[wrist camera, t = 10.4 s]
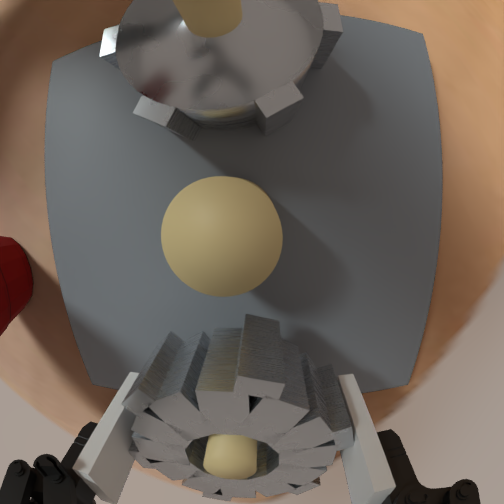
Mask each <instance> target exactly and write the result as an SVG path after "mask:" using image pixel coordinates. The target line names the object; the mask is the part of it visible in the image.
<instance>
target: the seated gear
mask: <svg viewBox="0 0 504 504" xmlns="http://www.w3.org/2000/svg"><path fill="white" fill-rule="evenodd" d="M241 6H242V13H243V15H242V20H241V22H240V24H239V25H238V26H237V27H236V28H235V29H234V30H232V31H231V32H229V33H227V34H225V35H222V36H219V37H212V38H206V37H200V36H197V35H195V34H193V33H192V32H190V31H189V29H188V28H187V26H186V24H185V22H184V20H183V19H182V17H181V15H180V13H179V11H178V9H177V8H176V6H175V4H174V2H173V0H133V2H132V3H131V4H130V6H129V7H128V8H127V10H126V12H125V14H124V16H123V17H122V19H121V22H120V25H116V26H113V27H110V28H107V29H104V33H103V38H102V45H101V51H100V57H101V58H102V59H104V60H105V61H107V62H108V63H110V64H111V65H113V66H114V67H116V68H117V69H119V70H120V71H121V72H122V74H123V76H124V77H125V78H126V80H127V81H128V82H129V84H130V85H131V86H132V87H134V88H135V89H136V90H137V91H138V92H140V93H141V94H143V95H142V96H141V98H140V100H139V102H138V104H137V106H136V108H135V109H134V111H133V113H134V114H136V115H138V116H140V117H142V118H145V119H147V120H149V121H151V122H153V123H155V124H157V125H159V126H161V127H163V128H165V129H167V130H170V131H172V132H174V133H176V134H179V135H181V136H183V137H185V138H188V139H190V140H192V141H194V140H195V139H196V137H197V135H198V133H199V131H200V129H201V128H205V129H211V130H233V129H241V128H245V127H249V126H252V125H255V124H257V126H258V127H259V129H260V130H261V132H262V133H263V135H264V136H265V137H266V136H268V135H269V134H271V133H273V132H274V131H276V130H278V129H280V128H281V127H283V126H285V125H287V124H289V123H290V122H292V120H293V118H294V116H295V114H296V112H297V110H298V108H299V106H300V105H301V103H302V101H303V99H304V97H303V95H302V94H301V93H300V91H299V90H300V88H301V86H302V84H303V82H304V79H305V77H306V75H307V73H308V70H309V69H322V68H323V66H324V64H325V63H326V61H327V59H328V57H329V56H330V54H331V52H332V50H333V49H334V47H335V45H336V43H337V42H338V40H339V38H340V37H341V35H342V33H343V28H342V23H341V18H340V13H339V9H338V4H330V3H321V2H319V3H318V0H241Z"/></svg>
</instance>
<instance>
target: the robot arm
mask: <svg viewBox="0 0 504 504" xmlns="http://www.w3.org/2000/svg"><path fill="white" fill-rule="evenodd" d="M138 375H139V373H135V372H130V373H129V375H128V376H127V378H126V379H125V381H124V383H123V384H122V386H121V387H120V389H119V391H118V392H117V394H116V395H115V397H114V399H113V400H112V402H111V403H110V405H109V407H108V408H107V410H106V412H105V413H104V415H103V416H102V418H101V420H100V421H99V423H98V424H97V423H94V422H89V423H88V424H87V425H85V426H84V427H83V428H82V429H81V431H80V433H79V434H78V437H76V439H75V441H74V443H73V444H72V445H71V447H70V449H69V450H68V452H67V454H66V455H65V457H64V458H63V460H62V462H61V463H60V462H59V461H58V460H57V458H56V457H54V456H53V455H50V454H44V455H41V456H39V457H37V458H36V460H35V461H34V464H33V466H34V467H35V468H31V467H30V466H29V465H28V464H27V462H25V461H23V460H14V461H13V462H12V463H11V464H10V465H9V467H8V469H7V472H6V475H5V478H4V480H3V483H2V487H1V489H0V504H96V502H95V500H94V497H95V495H97V496H98V497H99V498H100V499H101V500H103V501H106V502H109V503H112V504H117V502H118V500H119V497H120V495H121V492H122V490H123V487H124V485H125V482H126V480H127V477H128V475H129V472H130V470H131V468H132V465H133V463H134V460H135V459H134V457H133V456H132V455H131V454H130V453H129V452H128V450H129V448H130V446H131V444H132V441H133V438H132V435H133V433H134V431H132V430H131V428H132V426H133V423H134V421H135V418H136V415H135V414H133V413H132V412H130V411H129V410H128V409H126V408H125V407H124V406H122V405H121V403H122V402H123V400H124V398H125V397H126V395H127V393H128V392H129V390H130V388H131V386H132V385H133V383H134V381H135V380H136V378H137V376H138ZM337 381H338V385H339V388H340V391H341V394H342V397H343V400H344V403H345V406H346V409H347V413H348V416H349V419H350V422H351V426H352V432H353V441H354V446H352V447H349V448H346V449H342V450H340V453H341V457H342V461H343V466H344V470H345V474H346V479H347V484H348V489H349V492H350V498H351V503H352V504H480V499H479V492H478V488H477V486H476V484H475V483H474V482H473V481H472V480H468V479H463V480H460V481H458V482H456V483H455V484H454V485H453V486H452V487H446V488H437V489H430V488H426V487H424V486H423V485H421V484H420V483H419V482H418V480H417V478H416V475H415V473H414V470H413V468H412V465H411V463H410V461H409V458H408V456H407V455H406V451H405V449H404V447H403V445H402V442H401V440H400V437H399V436H398V435H397V434H396V433H395V432H394V431H393V430H391V429H390V430H386V431H381V432H376V430H375V427H374V424H373V422H372V419H371V417H370V414H369V412H368V409H367V406H366V404H365V401H364V399H363V396H362V394H361V392H360V389H359V387H358V384H357V382H356V379H355V377H354V375H353V374H347V375H338V379H337ZM30 497H32V498H31V500H30Z"/></svg>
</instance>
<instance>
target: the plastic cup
mask: <svg viewBox="0 0 504 504" xmlns="http://www.w3.org/2000/svg"><path fill="white" fill-rule="evenodd" d="M32 290H33V280H32V273H31V268H30V266H29V263H28V260H27V257H26V255H25V253H24V252H23V250H22V248H21V247H20V245H19V244H18V243H17V242H16V241H15V240H13V239H12V238H10V237H2V236H0V336H1V335H2V333H3V332H4V331H5V330H6V329H7V327H8V324H9V323H10V322H11V321H12V320H13V319H14V318H15V317H16V316H17V315H18V314H19V313H20V312H21V311H22V310H23V309H24V308H25V306H26V304H27V303H28V301H29V300H30V298H31V296H32Z"/></svg>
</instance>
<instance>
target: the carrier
mask: <svg viewBox="0 0 504 504" xmlns="http://www.w3.org/2000/svg"><path fill="white" fill-rule="evenodd" d="M173 2H174V4H175V6H176V8H177V9H178V11H179V13H180V15H181V17H182V19H183V20H184V22H185V24H186V26H187V28H188V29H189V31H190V32H192V33H193V34H195V35H197V36H200V37H206V38H212V37H219V36H222V35H225V34H227V33H229V32H231V31H232V30H234V29H235V28H236V27H237V26H238V25H239V24H240V22H241V20H242V15H243V13H242V6H241V0H173ZM340 18H341V23H342V28H343V33H342V35H341V37H340V38H339V40H338V42H337V43H336V45H335V47H334V49H333V50H332V52H331V54H330V56H329V57H328V59H327V61H326V63H325V64H324V66H323V68H322V69H309V70H308V73H307V75H306V77H305V79H304V82H303V84H302V86H301V88H300V90H299V91H300V93H301V94H302V95H303V97H304V99H303V101H302V103H301V105H300V106H299V108H298V110H297V112H296V114H295V116H294V118H293V120H292V122H290V123H289V124H287V125H285V126H283V127H281V128H280V129H278V130H276V131H274V132H273V133H271V134H269V135H268V136H266V137H265V136H264V135H263V133H262V132H261V130H260V129H259V127H258V126H257V124H255V125H252V126H249V127H245V128H241V129H233V130H211V129H205V128H201V129H200V131H199V133H198V135H197V137H196V139H195V140H194V141H192V140H190V139H188V138H185V137H183V136H181V135H179V134H176V133H174V132H172V131H170V130H167V129H165V128H163V127H161V126H159V125H157V124H155V123H153V122H151V121H149V120H147V119H145V118H142V117H140V116H138V115H136V114H134V113H133V111H134V109H135V108H136V106H137V104H138V102H139V100H140V98H141V96H142V95H143V94H141V93H140V92H138V91H137V90H136V89H135V88H134V87H132V86H131V85H130V84H129V82H128V81H127V80H126V78H125V77H124V76H123V74H122V72H121V71H120V70H119V69H117V68H116V67H114V66H113V65H111V64H110V63H108V62H107V61H105V60H104V59H102V58H101V57H100V51H101V45H102V41H99V42H96V43H94V44H91V45H89V46H86V47H84V48H81V49H79V50H76V51H74V52H72V53H70V54H67V55H65V56H63V57H61V58H59V59H57V60H55V61H53V63H52V69H51V76H50V82H49V90H48V99H47V110H46V124H45V184H46V199H47V210H48V219H49V227H50V235H51V241H52V248H53V253H54V259H55V264H56V269H57V274H58V279H59V283H60V287H61V291H62V295H63V299H64V303H65V307H66V311H67V314H68V318H69V321H70V324H71V327H72V331H73V334H74V337H75V340H76V343H77V346H78V349H79V351H80V354H81V357H82V360H83V362H84V365H85V367H86V370H87V372H88V375H89V377H90V380H91V382H92V384H93V385H97V386H102V387H107V388H112V389H117V390H119V389H120V387H121V386H122V384H123V383H124V381H125V379H126V378H127V376H128V375H129V373H130V372H135V373H140V371H141V370H142V368H143V366H144V365H145V363H146V361H147V360H148V358H149V356H150V355H151V353H152V351H153V350H154V348H155V347H156V346H157V345H158V344H159V343H160V342H161V341H162V340H163V339H164V337H165V336H166V335H167V334H168V333H169V332H170V331H172V332H173V333H174V334H176V335H177V336H178V337H179V338H181V339H182V340H183V341H184V340H185V339H187V338H189V337H191V336H193V335H195V334H197V333H199V332H201V331H203V330H204V331H205V333H206V334H207V335H208V337H209V338H210V339H211V338H212V335H213V332H214V329H215V328H242V327H243V323H244V319H245V315H246V314H250V315H255V316H260V317H264V318H269V319H274V320H279V323H280V333H281V338H283V339H286V340H288V341H290V342H292V343H295V344H297V345H298V348H299V353H300V354H302V353H304V352H307V354H308V355H309V357H310V358H311V360H312V361H313V363H314V364H315V366H316V367H317V368H319V367H322V366H326V365H329V364H332V366H333V369H334V372H335V375H336V378H337V379H338V375H347V374H353V375H354V377H355V379H356V382H357V384H358V387H359V389H360V392H361V393H367V392H373V391H379V390H384V389H389V388H394V387H399V386H404V385H408V383H409V380H410V377H411V374H412V371H413V368H414V365H415V362H416V358H417V355H418V351H419V348H420V344H421V341H422V337H423V333H424V329H425V325H426V320H427V316H428V311H429V307H430V302H431V297H432V291H433V286H434V280H435V273H436V266H437V259H438V250H439V241H440V230H441V215H442V148H441V133H440V123H439V113H438V105H437V98H436V92H435V86H434V80H433V75H432V70H431V65H430V60H429V56H428V52H427V48H426V44H425V40H424V36H423V34H421V33H418V32H415V31H411V30H408V29H405V28H401V27H397V26H393V25H389V24H385V23H381V22H376V21H371V20H366V19H361V18H355V17H349V16H342V15H340ZM203 467H204V468H205V470H206V471H207V472H209V473H210V474H212V475H214V476H217V477H220V478H225V479H244V478H248V477H250V476H252V475H254V474H255V472H256V467H257V440H255V439H252V438H249V437H246V436H243V435H223V434H212V435H209V437H208V442H207V447H206V452H205V458H204V463H203Z"/></svg>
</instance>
